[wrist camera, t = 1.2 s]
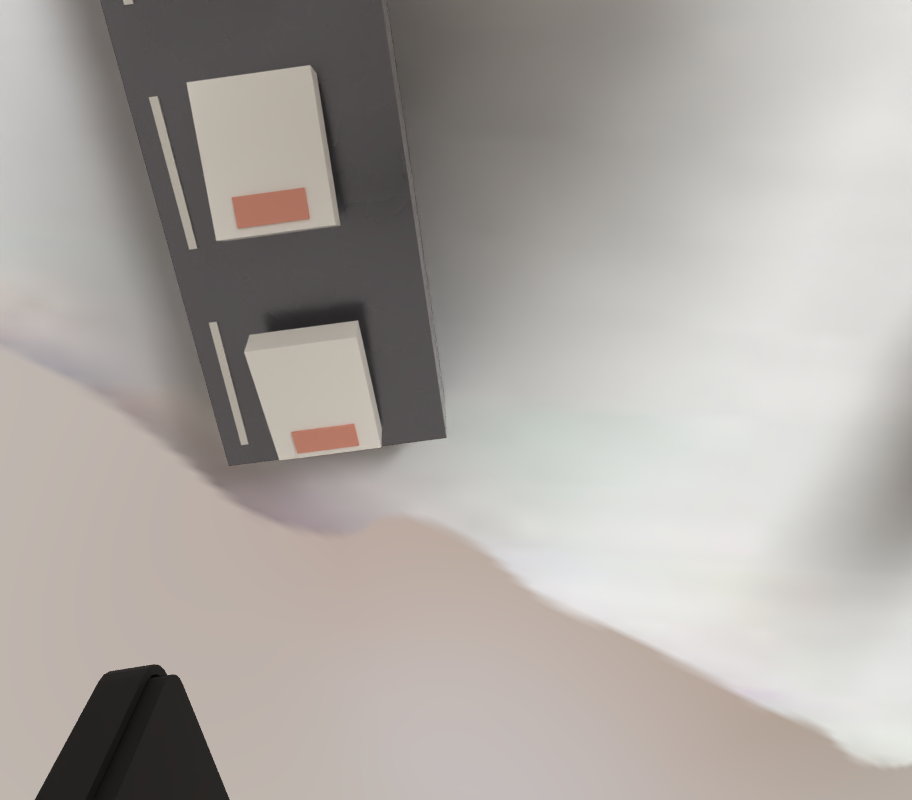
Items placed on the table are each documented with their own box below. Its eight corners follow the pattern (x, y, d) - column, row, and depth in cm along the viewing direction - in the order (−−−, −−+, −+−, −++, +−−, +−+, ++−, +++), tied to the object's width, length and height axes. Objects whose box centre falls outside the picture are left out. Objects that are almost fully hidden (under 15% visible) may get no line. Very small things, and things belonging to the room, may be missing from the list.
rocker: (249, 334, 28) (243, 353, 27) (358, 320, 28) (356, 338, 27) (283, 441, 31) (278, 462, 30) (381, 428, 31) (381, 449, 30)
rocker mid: (198, 89, 26) (185, 81, 25) (316, 73, 26) (309, 64, 25) (226, 241, 27) (215, 241, 26) (340, 225, 27) (334, 224, 25)
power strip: (33, -415, 24) (-58, -526, 20) (319, -460, 24) (294, -581, 19) (249, 424, 35) (223, 476, 31) (444, 399, 35) (446, 447, 31)
